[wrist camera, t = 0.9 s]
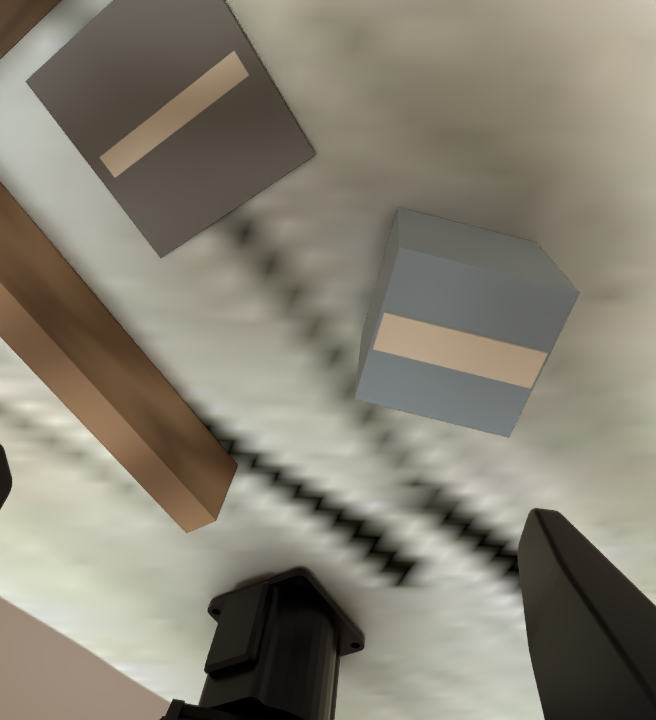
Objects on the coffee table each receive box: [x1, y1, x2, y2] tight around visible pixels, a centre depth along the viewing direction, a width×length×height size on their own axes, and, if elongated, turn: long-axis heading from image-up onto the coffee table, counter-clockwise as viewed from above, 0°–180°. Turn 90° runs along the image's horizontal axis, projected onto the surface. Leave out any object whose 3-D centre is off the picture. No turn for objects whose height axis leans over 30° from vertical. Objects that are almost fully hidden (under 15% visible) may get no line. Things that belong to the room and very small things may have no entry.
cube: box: [355, 207, 580, 438], centre depth 18 cm, size 5×5×5 cm
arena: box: [0, 0, 316, 533], centre depth 17 cm, size 19×19×4 cm
